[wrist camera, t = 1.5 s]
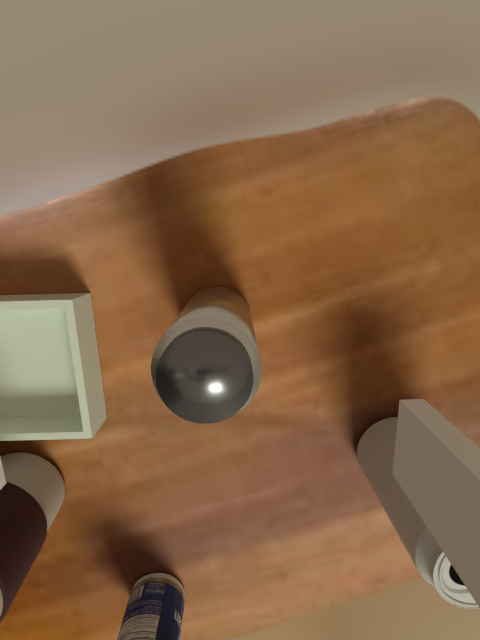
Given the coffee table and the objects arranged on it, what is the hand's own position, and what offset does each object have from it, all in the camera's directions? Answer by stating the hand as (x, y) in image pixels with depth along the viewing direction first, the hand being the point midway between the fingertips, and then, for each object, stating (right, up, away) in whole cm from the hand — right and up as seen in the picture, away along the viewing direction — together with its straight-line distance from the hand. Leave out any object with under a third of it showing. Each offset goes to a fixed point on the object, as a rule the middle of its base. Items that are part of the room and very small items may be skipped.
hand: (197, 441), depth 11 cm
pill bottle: (-7, -23, +23) cm, 34 cm away
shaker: (0, +4, +17) cm, 17 cm away
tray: (-16, +1, +17) cm, 24 cm away
